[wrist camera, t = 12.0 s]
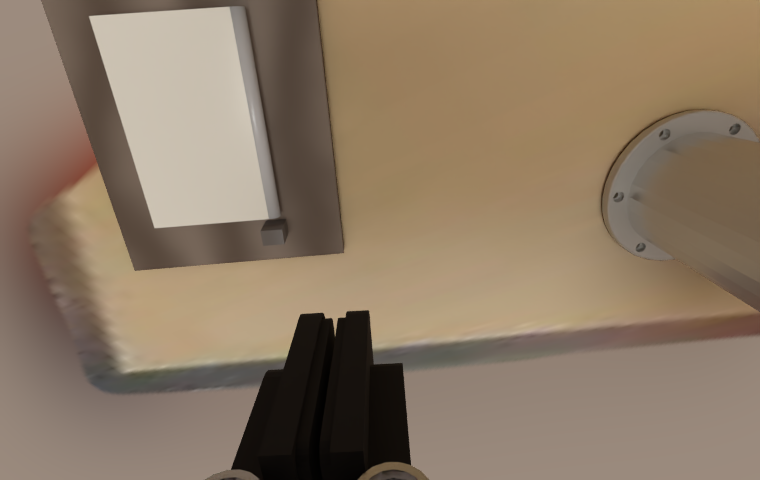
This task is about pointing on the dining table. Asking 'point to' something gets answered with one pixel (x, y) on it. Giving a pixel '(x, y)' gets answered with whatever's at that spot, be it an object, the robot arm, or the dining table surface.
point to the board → (283, 125)
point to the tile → (191, 113)
